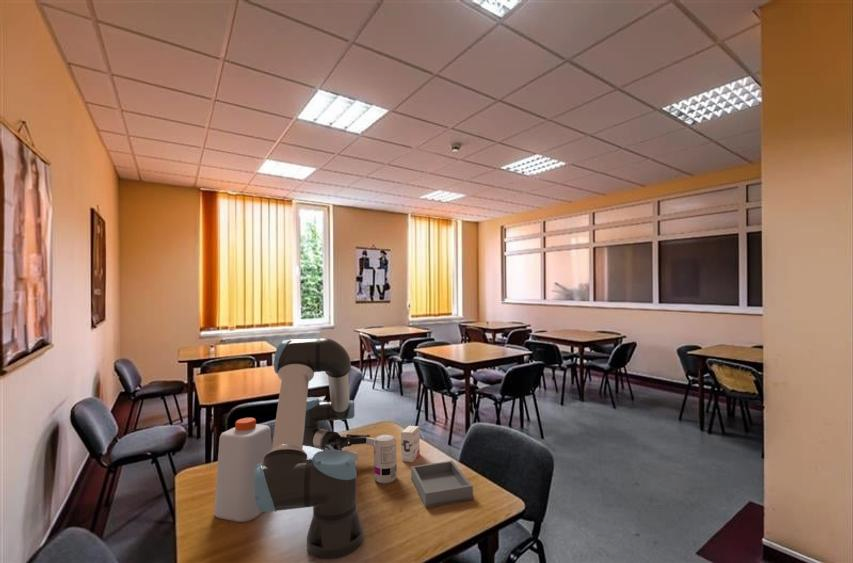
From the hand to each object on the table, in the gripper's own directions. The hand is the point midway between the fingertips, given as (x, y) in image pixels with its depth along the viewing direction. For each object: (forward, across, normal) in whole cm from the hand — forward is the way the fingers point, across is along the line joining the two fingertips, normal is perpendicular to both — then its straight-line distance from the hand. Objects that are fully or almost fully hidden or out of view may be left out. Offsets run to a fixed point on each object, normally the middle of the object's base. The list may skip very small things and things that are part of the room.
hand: (369, 450), depth 145 cm
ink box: (+6, -19, -9) cm, 22 cm away
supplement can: (+8, 0, -9) cm, 12 cm away
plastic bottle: (-21, +37, -9) cm, 43 cm away
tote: (+29, -2, -9) cm, 30 cm away
